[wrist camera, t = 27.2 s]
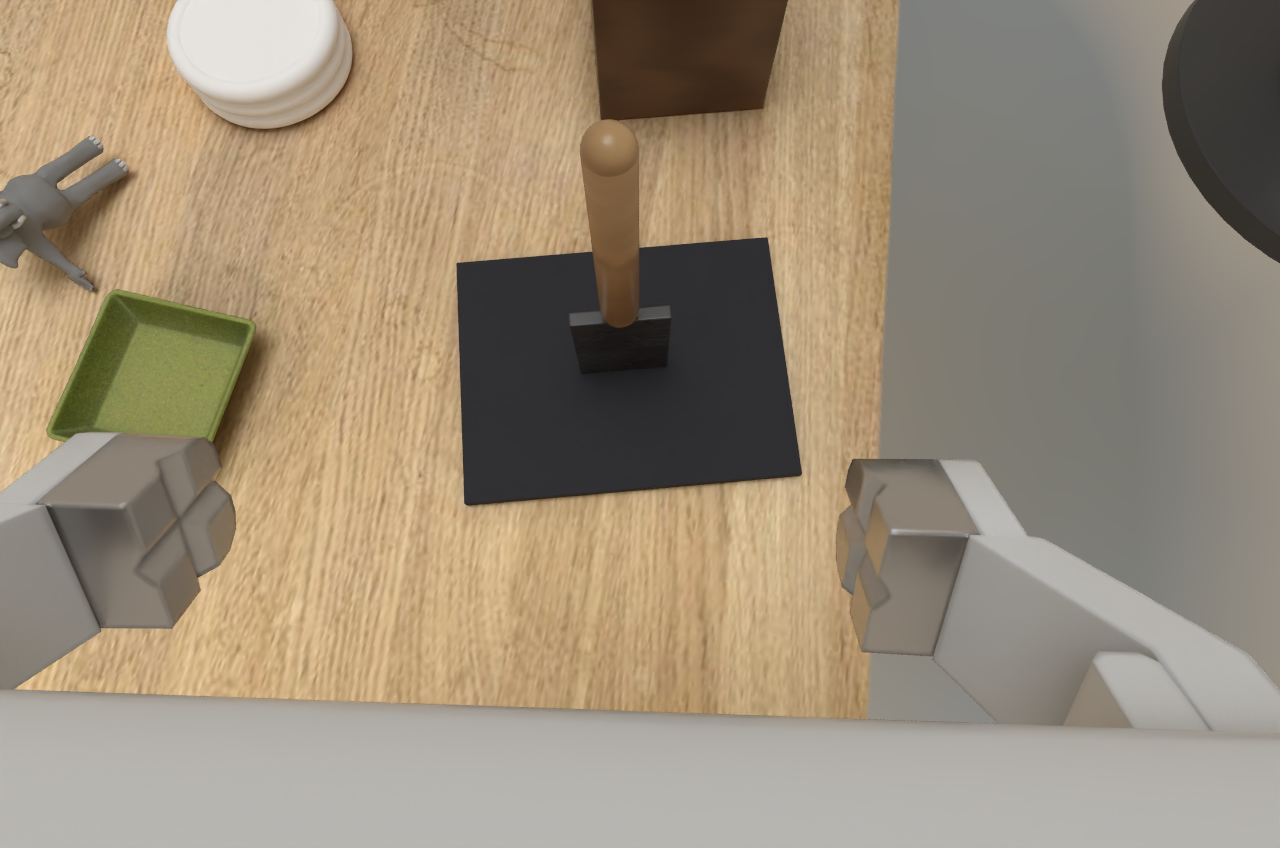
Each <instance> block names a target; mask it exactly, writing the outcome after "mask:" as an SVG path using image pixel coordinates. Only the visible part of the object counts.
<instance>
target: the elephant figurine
mask: <svg viewBox="0 0 1280 848" xmlns="http://www.w3.org/2000/svg"><path fill="white" fill-rule="evenodd" d="M100 142H101V141H100V140H99V139H96V137H94V136H88V137H87V138H85V139H84V140H83V141H81V142H80V143H79V144H78V145H76V146H75V147H74V148H73V149H71V150H70V151H68V152H67V153H65V154H64V155H62V156H60V157H59V158H57V159H55V160H54V161H52V162H50V163H48V164H46V165H44V166H43V167H41V168H40V169H39V170H38V171H37V172H36V173H34V174H31V175H22V176H18V177H15V178H13V179H11V180H9V182H8V183H7V185H6V187H5V188H4V190H3V191H0V262H1V263H2V264H4V265H6V266H8V267H11V268H17V267H18V259H19V257H20V256H21V254H22V253H23V251H24V250H25V249H26V250H29V251H30V252H32V253H34V254H36V255H37V256H39V257H40V258H42V259H44V260H46V261H48V262H50V263H52V264H54V265H56V266H58V267H59V268H61V269H62V270H63V271H65V272H66V273H67V274H68V276H69V278H70V279H71V280H72V281H74V282H75V283H77V284H79V285H82V286H83V287H84V288H85V289H86V290H87V289H88V290H89V292H90V291H93V290H94V286H93V285H91V284H90V283H89V282H88V281H87V280H86V279H85V277H84V275H85V274H86V273H87V272H86V271H84V270H81V269H80V268H78V267H77V266H75V265H74V264H72V263H71V262H70V261H68V260H67V259H66V258H65V257H64V256H63V254H62V253H61V252H60V251H59V250H58V249H57V248H56V246H55V245H54V244H53V243H51V242H50V241H49V240H48V239H47V238H46V237H45V235H44V234H43V232H42V231H44V230H47V229H52V228H56V227H59V226H62V225H64V224H65V223H67V222H68V221H69V220H70V218H71V216H72V213H73V211H74V210H75V208H77V207H78V206H80V205H82V204H83V203H84V202H86V201H87V200H88V199H90V198H91V197H92V196H93V195H95V194H96V193H98V192H99V191H100V190H102V189H103V188H105V187H107V186H108V185H110V184H112V183H114V182H116V181H118V180H120V179H121V178H123V177H125V176H126V175H127V174H128V172H129V168H128V166H125V165H126V163H125V162H124V161H121V160H120V159H113V160H112V161H111V162H109V163H108V164H107V165H105V166H104V167H102V168H100V169H99V170H97V171H95V172H94V173H92V174H91V175H89V176H88V177H86V178H84V179H83V180H81V181H79V182H78V183H76V184H74V185H72V186H71V187H69V188H67V189H65V190H59V189H58V188H57V183H58V182H60V181H61V180H62V179H64V178H65V177H66V176H68V175H69V174H70V173H72V172H73V171H75V170H76V169H78V168H79V167H81V166H82V165H84V164H85V163H87V162H88V161H90V160H91V159H93V158H94V157H96V156H98V155H100V154H101V153H103V145H102V144H101V143H100Z"/></svg>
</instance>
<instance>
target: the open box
mask: <svg viewBox="0 0 1280 848" xmlns="http://www.w3.org/2000/svg"><path fill="white" fill-rule="evenodd" d="M590 2H591V14H592V25H593V36H594V47H595V58H596V70H597V81H598V92H599V103H600V114H601V120H605V119H613V120H617V119H630V118H643V117H655V116H668V115H681V114H694V113H706V112H719V111H732V110H744V109H757V108H763V104H764V100H765V96H766V91H767V87H768V83H769V79H770V74H771V70H772V66H773V62H774V57H775V53H776V49H777V44H778V40H779V36H780V32H781V27H782V23H783V19H784V15H785V10H786V6H787V2H788V0H590Z"/></svg>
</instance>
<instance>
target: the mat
mask: <svg viewBox="0 0 1280 848" xmlns="http://www.w3.org/2000/svg"><path fill="white" fill-rule="evenodd" d="M457 291H458V322H459V352H460V382H461V412H462V443H463V473H464V503H465V504H466V505H467V506H468V505H479V504H490V503H501V502H512V501H524V500H535V499H546V498H557V497H568V496H579V495H591V494H602V493H613V492H624V491H635V490H647V489H658V488H669V487H680V486H691V485H702V484H714V483H725V482H736V481H747V480H758V479H770V478H781V477H792V476H800V475H801V474H802V471H801V464H800V457H799V450H798V444H797V437H796V430H795V423H794V416H793V409H792V402H791V396H790V389H789V382H788V375H787V368H786V361H785V354H784V348H783V341H782V334H781V327H780V320H779V313H778V306H777V300H776V293H775V286H774V279H773V272H772V265H771V258H770V252H769V245H768V238H767V237H766V238H754V239H742V240H730V241H718V242H705V243H693V244H681V245H669V246H657V247H645V248H639V307H649V306H661V305H670V306H671V313H672V321H671V331H670V341H669V351H668V361H667V366H666V367H656V368H644V369H632V370H620V371H609V372H597V373H585V374H581V373H580V369H579V365H578V360H577V356H576V352H575V348H574V343H573V339H572V335H571V331H570V327H569V313H578V312H590V311H600V306H599V298H598V290H597V282H596V275H595V267H594V259H593V252H584V253H572V254H560V255H548V256H536V257H524V258H511V259H499V260H487V261H475V262H463V263H457Z"/></svg>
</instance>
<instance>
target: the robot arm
mask: <svg viewBox="0 0 1280 848" xmlns="http://www.w3.org/2000/svg"><path fill="white" fill-rule="evenodd" d="M221 468H222V464H221V461H220V458H219V455H218V452H217V449H216V447H215V444H213V443H212V442H210V441H209V440H208V439H206V438H205V437H194V436H175V435H155V434H136V433H127V434H125V433H122V432H86V433H78V434H75V435H74V436H73V437H71V438H70V439H69V440H67V441H66V442H65V443H64V444H62V445H61V446H60V447H58V448H57V449H56V450H54V451H53V452H52V453H51V454H49V455H48V456H47V457H45V458H44V459H43V460H42V461H40V462H39V463H38V464H36V465H35V466H34V467H33V468H31V469H30V470H29V471H27V472H26V473H25V474H24V475H22V476H21V477H20V478H18V479H17V480H16V481H14V482H13V483H12V484H11V485H9V486H8V487H7V488H5V489H4V490H3V491H2V492H0V848H1280V690H1279V688H1277V686H1276V685H1275V684H1274V683H1273V682H1272V680H1271V679H1270V678H1269V677H1268V676H1267V675H1266V673H1265V672H1264V671H1263V670H1262V669H1261V668H1260V666H1259V665H1258V664H1257V663H1256V662H1255V661H1254V659H1253V658H1252V657H1251V656H1250V655H1249V654H1248V653H1246V652H1244V651H1243V650H1241V649H1239V648H1237V647H1236V646H1234V645H1232V644H1230V643H1228V642H1226V641H1225V640H1223V639H1221V638H1220V637H1217V636H1216V635H1214V634H1212V633H1211V632H1209V631H1207V630H1205V629H1204V628H1202V627H1200V626H1198V625H1196V624H1195V623H1193V622H1191V621H1189V620H1187V619H1186V618H1184V617H1182V616H1180V615H1179V614H1177V613H1175V612H1173V611H1172V610H1170V609H1168V608H1166V607H1165V606H1163V605H1161V604H1159V603H1157V602H1156V601H1154V600H1152V599H1150V598H1148V597H1147V596H1145V595H1143V594H1141V593H1140V592H1138V591H1136V590H1134V589H1133V588H1131V587H1129V586H1127V585H1125V584H1124V583H1122V582H1120V581H1118V580H1117V579H1115V578H1113V577H1111V576H1110V575H1108V574H1106V573H1104V572H1102V571H1101V570H1099V569H1097V568H1095V567H1094V566H1092V565H1090V564H1088V563H1086V562H1085V561H1083V560H1081V559H1079V558H1078V557H1076V556H1074V555H1072V554H1070V553H1069V552H1067V551H1065V550H1063V549H1062V548H1060V547H1058V546H1056V545H1054V544H1053V543H1051V542H1049V541H1047V540H1046V539H1044V538H1042V537H1029V536H1028V535H1027V533H1026V532H1025V530H1024V529H1023V527H1022V526H1021V524H1020V523H1019V521H1018V520H1017V518H1016V517H1015V515H1014V514H1013V512H1012V511H1011V509H1010V508H1009V506H1008V505H1007V503H1006V502H1005V500H1004V499H1003V497H1002V496H1001V494H1000V493H999V491H998V490H997V488H996V487H995V485H994V483H993V482H992V480H991V479H990V477H989V476H988V475H987V473H986V471H985V470H984V469H983V467H982V465H981V464H980V463H979V462H977V461H975V460H973V459H929V460H927V459H923V460H922V459H853V460H852V462H851V465H850V467H849V470H848V474H847V479H846V484H845V488H846V491H847V494H848V497H849V500H850V503H851V505H850V506H849V507H848V508H847V509H846V510H845V511H843V512H842V513H841V514H840V516H839V522H838V528H837V535H836V562H837V569H838V574H839V578H840V581H841V585H842V587H843V588H844V589H845V590H847V591H848V592H849V593H850V594H852V595H853V597H852V602H851V607H850V616H851V619H852V622H853V625H854V629H855V632H856V635H857V638H858V642H859V645H860V648H861V652H869V653H885V654H902V655H920V656H933V659H932V660H933V661H934V662H935V663H937V665H938V666H940V667H941V668H942V669H943V670H944V671H945V672H946V673H947V674H948V675H949V676H950V677H951V678H952V679H953V680H954V681H955V682H956V683H957V684H958V685H959V686H960V687H961V688H962V689H963V690H964V691H965V692H966V693H967V694H968V695H969V696H970V697H972V698H973V700H974V701H975V702H976V703H977V704H978V705H980V706H981V707H982V708H983V709H984V710H985V711H986V712H987V713H988V714H989V715H990V716H991V717H992V718H993V719H994V720H995V721H996V722H997V723H998V724H996V723H995V724H994V723H967V722H966V723H965V722H936V721H905V720H876V719H848V718H819V717H791V716H762V715H734V714H705V713H677V712H648V711H620V710H591V709H563V708H534V707H503V706H473V705H442V704H413V703H385V702H356V701H328V700H299V699H271V698H242V697H214V696H185V695H157V694H128V693H100V692H71V691H42V690H14V689H15V688H16V687H18V686H19V685H21V684H22V683H24V682H25V681H27V680H28V679H30V678H31V677H33V676H34V675H36V674H37V673H39V672H40V671H42V670H43V669H45V668H46V667H48V666H50V665H51V664H53V663H54V662H56V661H57V660H59V659H60V658H62V657H63V656H65V655H66V654H68V653H69V652H71V651H72V650H74V649H75V648H77V647H78V646H80V645H81V644H83V643H84V642H86V641H87V640H89V639H90V638H92V637H93V636H95V635H96V634H98V633H99V632H101V629H100V628H163V629H172V628H173V627H174V625H175V624H176V623H177V621H178V620H179V619H180V617H181V616H182V615H183V613H184V612H185V611H186V609H187V608H188V607H189V605H190V604H191V603H192V601H193V600H194V599H195V597H196V596H197V595H198V593H199V592H200V591H201V589H200V585H199V581H198V577H200V576H202V575H204V574H205V573H207V572H209V571H211V570H213V569H215V568H216V567H218V566H219V565H220V564H221V562H222V561H223V560H224V558H225V557H226V555H227V554H228V552H229V551H230V549H231V545H232V542H233V538H234V535H235V531H236V514H235V508H234V505H233V501H232V497H231V495H230V494H229V493H228V492H227V491H226V490H225V489H223V488H222V487H221V486H220V485H219V484H218V483H217V482H216V481H215V479H216V477H217V476H218V474H219V472H220V470H221Z"/></svg>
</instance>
